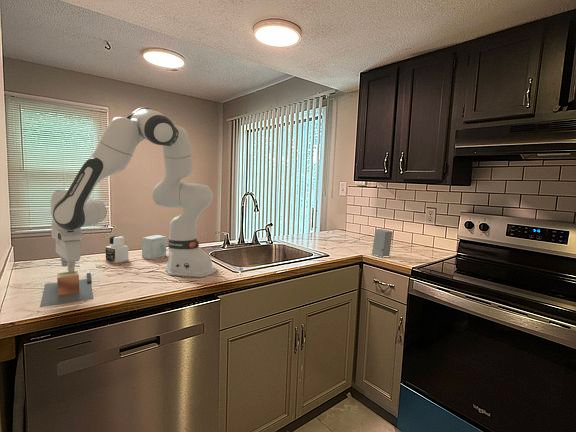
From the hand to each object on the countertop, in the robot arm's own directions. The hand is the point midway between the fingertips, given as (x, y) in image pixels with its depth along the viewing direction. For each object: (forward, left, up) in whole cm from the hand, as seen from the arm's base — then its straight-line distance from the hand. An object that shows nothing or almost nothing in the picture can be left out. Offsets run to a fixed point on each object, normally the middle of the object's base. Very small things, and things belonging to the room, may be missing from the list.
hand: (67, 268), depth 117 cm
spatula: (+3, -11, -6) cm, 13 cm away
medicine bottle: (+8, -32, -6) cm, 33 cm away
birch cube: (-6, +5, -2) cm, 8 cm away
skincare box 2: (-116, -102, -6) cm, 154 cm away
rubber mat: (-8, +7, -6) cm, 12 cm away
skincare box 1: (-2, -46, -6) cm, 46 cm away
